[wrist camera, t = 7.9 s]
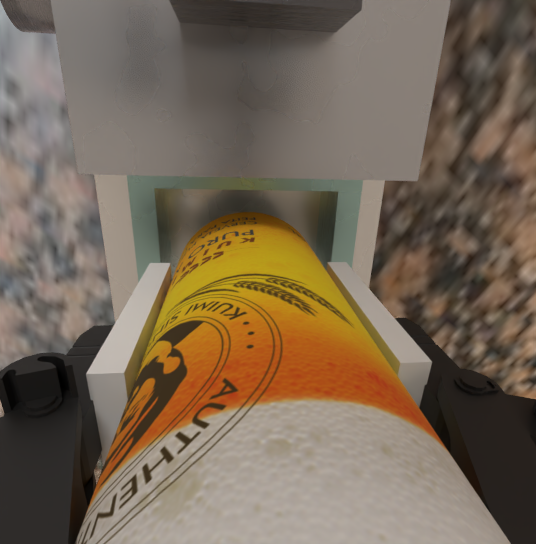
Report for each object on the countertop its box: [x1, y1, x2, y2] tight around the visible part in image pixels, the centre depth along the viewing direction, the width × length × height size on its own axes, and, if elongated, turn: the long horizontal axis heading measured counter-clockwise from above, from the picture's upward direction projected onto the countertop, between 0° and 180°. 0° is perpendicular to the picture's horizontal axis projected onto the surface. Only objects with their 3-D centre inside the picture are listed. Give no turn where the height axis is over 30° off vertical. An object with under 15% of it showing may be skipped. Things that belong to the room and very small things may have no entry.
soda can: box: [75, 212, 511, 544], centre depth 10 cm, size 6×6×15 cm
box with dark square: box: [1, 0, 451, 323], centre depth 13 cm, size 22×14×10 cm, turn 178°
